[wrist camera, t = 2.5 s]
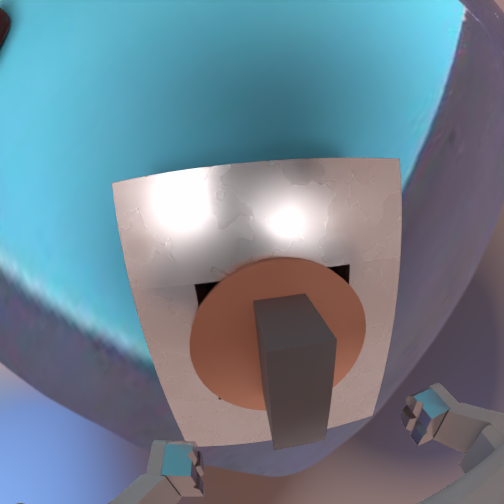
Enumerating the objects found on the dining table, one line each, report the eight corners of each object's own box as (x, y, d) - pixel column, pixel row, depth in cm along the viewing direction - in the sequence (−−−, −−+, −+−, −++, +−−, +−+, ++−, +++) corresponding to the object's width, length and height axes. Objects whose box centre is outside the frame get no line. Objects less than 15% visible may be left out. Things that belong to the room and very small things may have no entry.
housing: (150, 181, 18) (111, 183, 11) (345, 163, 19) (399, 159, 12) (193, 387, 22) (188, 446, 16) (342, 365, 23) (372, 415, 17)
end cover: (189, 243, 18) (149, 320, 8) (326, 227, 18) (422, 279, 8) (210, 358, 20) (207, 471, 10) (325, 341, 21) (382, 436, 11)
